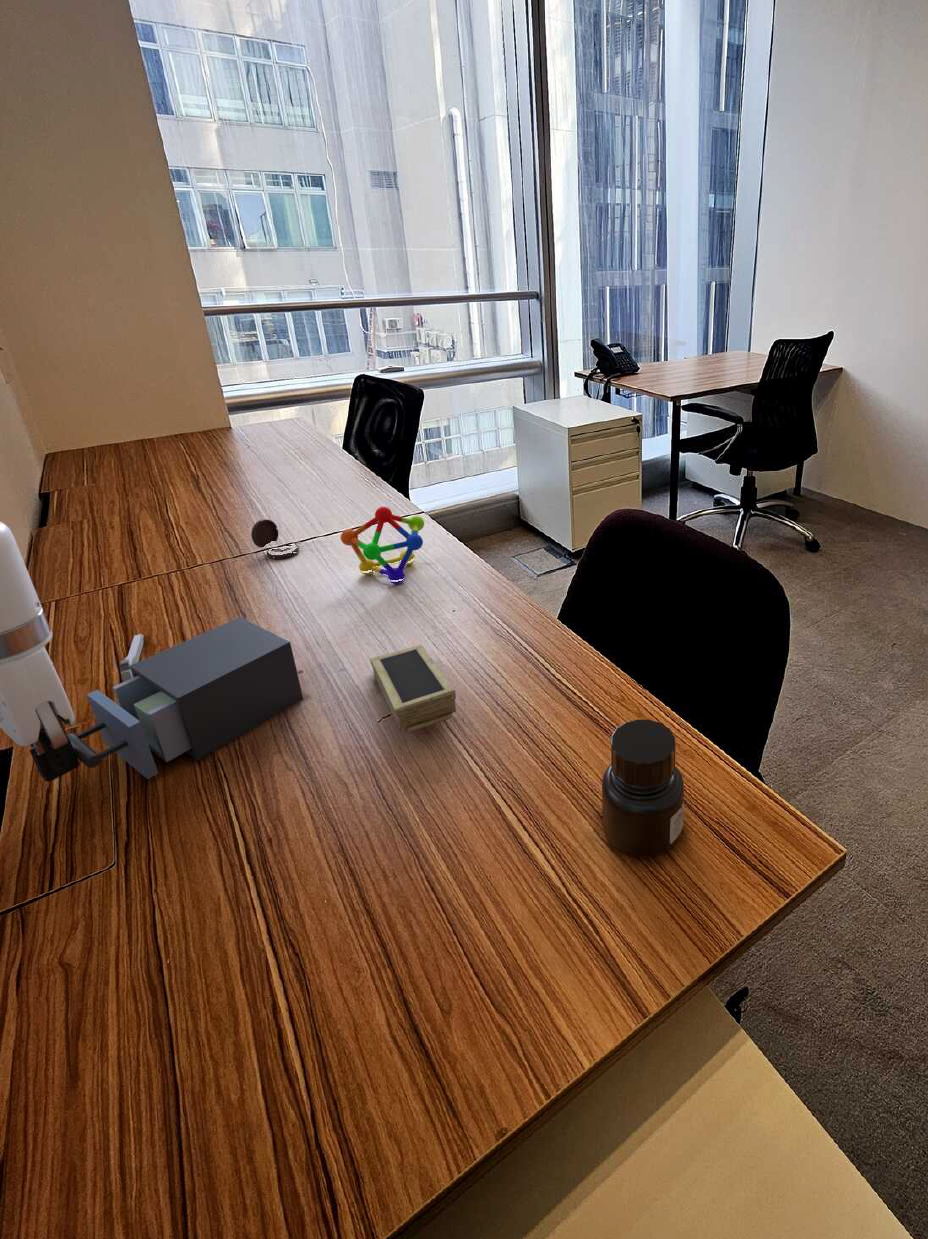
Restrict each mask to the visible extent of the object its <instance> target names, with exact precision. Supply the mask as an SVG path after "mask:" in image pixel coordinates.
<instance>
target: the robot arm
mask: <svg viewBox="0 0 928 1239" xmlns="http://www.w3.org/2000/svg"><path fill="white" fill-rule="evenodd" d="M53 637H54V636H53V631H52V629H51V627H50V624H49V621H48V619H47V616H46V614H45V611H44V609H43V606H42V603H41V601H40V599H39V596H38V593H37V591H36V589H35V586H34V583H33V580H32V578H31V576H30V573H29V571H28V569H27V566H26V564H25V561H24V558H23V556H22V554H21V551H20V548H19V545H18V542H17V540H16V538H15V536H14V534H13V532H12V529H10V527H9V526H8V525H7V524H5V523H4V522H2V521H0V729H1V731H3V733H5V734H6V735H7V736H8V737H9V738H10V739H11V740H12V741H13V742H14V743H15V744H16V745H17V746H19V747H21V748H31V749H29V750H28V751H29V753H30V755H31V757H32V759H33V761H34V764H35V766H36V769H37V770H38V773H39V775H40V776H41V777H42V778H43V779H44V781H45V782H47V783H50V782H53V781H54V780H57V779H59V778H61V777H62V776H64V775H66V774H68V773H70V772H72V771H74V770H76V769H77V768H79V767H80V760H79V759H78V758H77V756H76V754H75V751H74V749H73V746H72V744H71V742H70V739H69V738H68V736H67V734H68V733H67V732H66V728H65V726H64V724H65V725H66V726H68V727H72V726H73V725H74V723H75V721H76V718H75V714H74V712H73V709H72V705H71V703H70V700H69V697H68V696H67V693H66V691H65V688H64V686H63V683H62V681H61V679H60V677H59V675H58V673H57V670H56V668H55V666H54V663H53V661H52V659H51V657H50V655H49V653H48V651H47V649H46V645H47V644H48V643H49V642H50V641H51V640H52V639H53Z"/></svg>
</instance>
